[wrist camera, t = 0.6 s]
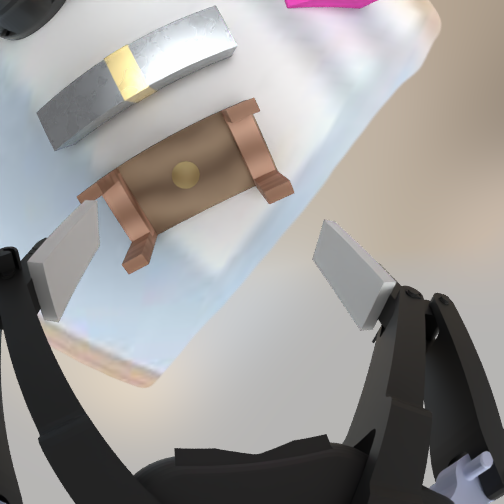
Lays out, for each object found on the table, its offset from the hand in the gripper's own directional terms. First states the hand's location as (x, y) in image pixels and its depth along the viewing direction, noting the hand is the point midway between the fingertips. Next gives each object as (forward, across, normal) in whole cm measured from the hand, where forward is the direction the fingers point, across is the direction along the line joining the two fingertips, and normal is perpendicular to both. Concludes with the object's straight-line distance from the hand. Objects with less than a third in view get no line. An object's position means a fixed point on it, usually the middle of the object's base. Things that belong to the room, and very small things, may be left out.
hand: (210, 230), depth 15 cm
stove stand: (+23, -2, -2) cm, 23 cm away
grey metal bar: (+23, -10, +10) cm, 28 cm away
